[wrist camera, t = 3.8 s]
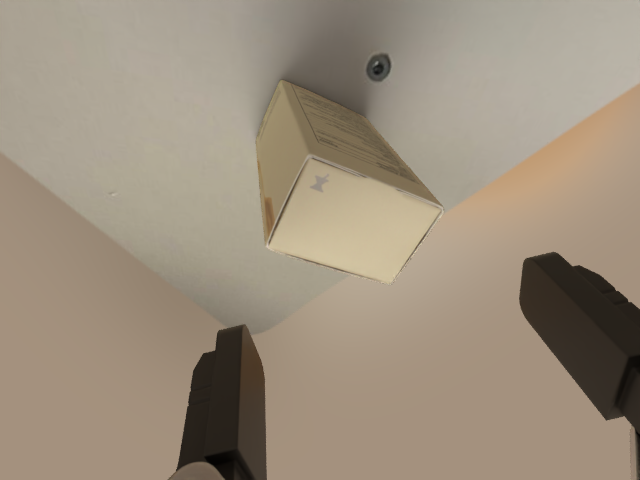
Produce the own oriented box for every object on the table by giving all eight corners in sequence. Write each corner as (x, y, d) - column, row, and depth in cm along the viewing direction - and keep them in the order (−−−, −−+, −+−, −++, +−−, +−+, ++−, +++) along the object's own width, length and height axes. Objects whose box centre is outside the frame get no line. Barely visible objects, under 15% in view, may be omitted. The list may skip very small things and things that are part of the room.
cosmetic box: (253, 142, 26) (253, 249, 16) (280, 75, 24) (300, 148, 14) (342, 177, 28) (393, 292, 18) (373, 119, 26) (450, 210, 16)
